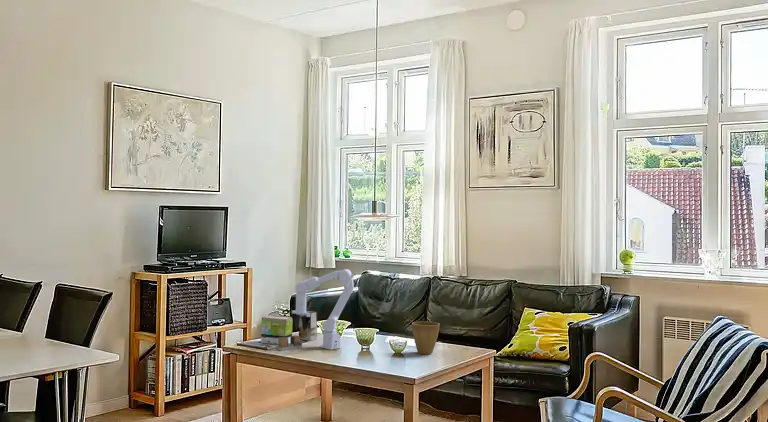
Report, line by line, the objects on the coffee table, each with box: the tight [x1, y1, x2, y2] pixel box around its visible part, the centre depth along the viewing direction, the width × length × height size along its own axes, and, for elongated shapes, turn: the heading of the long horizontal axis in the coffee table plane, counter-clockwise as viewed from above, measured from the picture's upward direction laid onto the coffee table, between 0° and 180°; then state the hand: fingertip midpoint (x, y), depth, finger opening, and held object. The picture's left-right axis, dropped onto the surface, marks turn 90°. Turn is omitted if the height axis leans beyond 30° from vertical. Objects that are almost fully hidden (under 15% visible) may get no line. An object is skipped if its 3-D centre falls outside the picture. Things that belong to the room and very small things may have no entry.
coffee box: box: [298, 310, 318, 342], centre depth 408 cm, size 9×6×16 cm
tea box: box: [260, 314, 294, 344], centre depth 394 cm, size 15×10×15 cm, turn 73°
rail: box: [274, 337, 303, 352], centre depth 377 cm, size 5×14×6 cm, turn 133°
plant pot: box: [411, 321, 441, 355], centre depth 373 cm, size 15×15×16 cm
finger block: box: [290, 334, 300, 346], centre depth 380 cm, size 4×4×5 cm
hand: (300, 328), depth 385 cm, fingers open, 7 cm apart
